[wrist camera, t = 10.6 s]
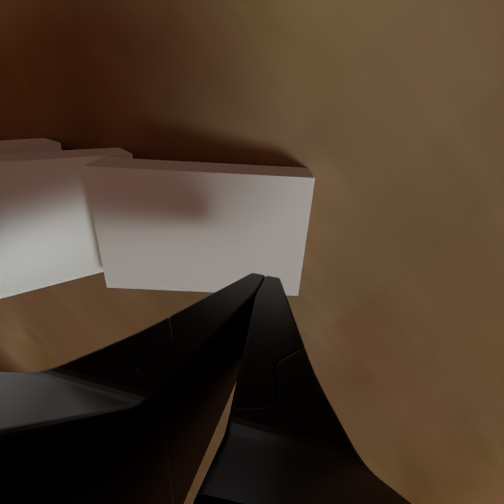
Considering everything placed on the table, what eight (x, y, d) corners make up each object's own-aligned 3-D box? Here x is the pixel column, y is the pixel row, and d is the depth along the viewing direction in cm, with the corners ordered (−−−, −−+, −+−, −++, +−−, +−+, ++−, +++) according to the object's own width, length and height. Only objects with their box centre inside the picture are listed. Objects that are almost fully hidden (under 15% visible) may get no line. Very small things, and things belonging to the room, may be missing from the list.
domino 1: (132, 153, 13) (-174, 173, 8) (144, 260, 15) (-89, 321, 11) (119, 147, 14) (-155, 161, 9) (133, 247, 16) (-82, 297, 12)
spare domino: (315, 177, 11) (83, 165, 11) (297, 295, 13) (107, 287, 13) (307, 167, 12) (103, 156, 12) (293, 274, 15) (121, 267, 14)
